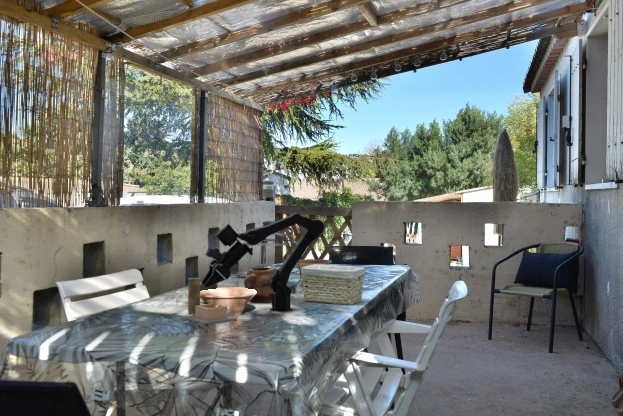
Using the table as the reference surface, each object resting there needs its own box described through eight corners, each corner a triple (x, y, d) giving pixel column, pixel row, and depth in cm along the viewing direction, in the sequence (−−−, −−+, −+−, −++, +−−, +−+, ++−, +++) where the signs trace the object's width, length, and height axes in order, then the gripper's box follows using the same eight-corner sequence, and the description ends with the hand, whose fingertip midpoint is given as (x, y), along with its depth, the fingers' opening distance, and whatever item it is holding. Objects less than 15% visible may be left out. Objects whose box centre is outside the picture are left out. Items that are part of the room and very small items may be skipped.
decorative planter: (259, 306, 241) (259, 271, 241) (233, 303, 247) (234, 269, 246) (284, 299, 258) (284, 267, 258) (260, 297, 264) (260, 265, 264)
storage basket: (365, 300, 259) (366, 266, 259) (353, 306, 244) (354, 270, 244) (314, 296, 269) (314, 263, 268) (299, 302, 254) (300, 266, 254)
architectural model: (238, 286, 301) (238, 266, 301) (281, 290, 289) (281, 269, 289) (213, 290, 284) (214, 270, 284) (257, 295, 272) (258, 273, 272)
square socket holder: (217, 314, 222) (217, 301, 222) (236, 320, 212) (237, 306, 212) (185, 318, 213) (185, 305, 213) (204, 324, 203) (204, 310, 203)
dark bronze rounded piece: (213, 304, 244) (213, 284, 244) (196, 303, 245) (196, 284, 245) (220, 301, 251) (220, 282, 251) (203, 300, 252) (203, 281, 252)
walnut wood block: (198, 312, 226) (199, 277, 226) (199, 314, 222) (200, 279, 222) (187, 312, 225) (188, 277, 225) (188, 314, 221) (189, 279, 221)
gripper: (215, 238, 235) (186, 267, 232) (222, 241, 217) (190, 272, 214) (235, 258, 237) (206, 287, 234) (243, 263, 219) (212, 294, 216)
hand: (203, 285), depth 225 cm, fingers open, 9 cm apart
